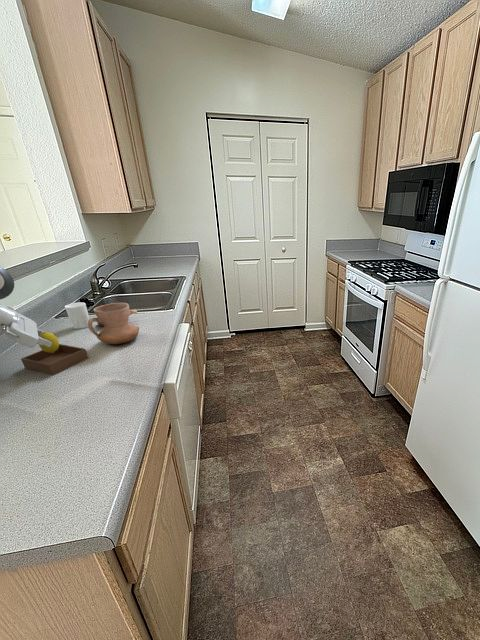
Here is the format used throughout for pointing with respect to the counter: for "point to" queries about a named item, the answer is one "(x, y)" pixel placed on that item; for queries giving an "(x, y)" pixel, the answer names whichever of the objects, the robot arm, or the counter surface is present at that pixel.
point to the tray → (55, 359)
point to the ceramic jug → (114, 323)
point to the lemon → (53, 339)
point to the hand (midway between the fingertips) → (50, 341)
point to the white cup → (78, 314)
